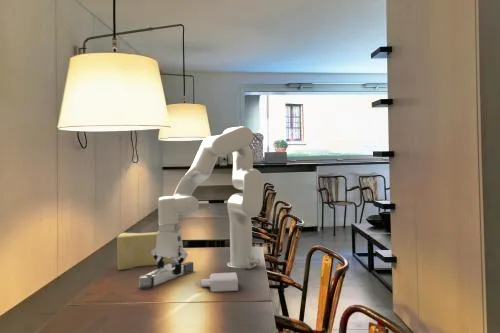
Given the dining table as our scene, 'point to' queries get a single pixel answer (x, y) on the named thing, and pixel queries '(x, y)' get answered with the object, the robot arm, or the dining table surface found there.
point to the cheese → (136, 250)
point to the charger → (221, 282)
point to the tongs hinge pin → (145, 281)
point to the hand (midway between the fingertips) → (169, 272)
